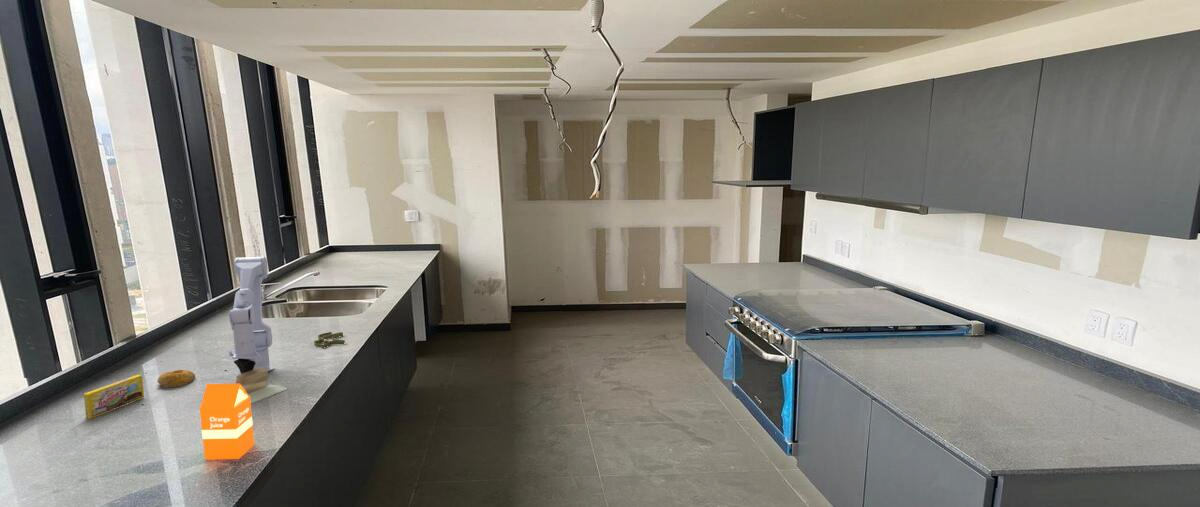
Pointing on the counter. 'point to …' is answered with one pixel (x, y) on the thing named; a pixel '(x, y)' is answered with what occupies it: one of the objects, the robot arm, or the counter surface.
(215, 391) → the orange juice
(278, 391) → the sage mat
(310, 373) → the counter surface
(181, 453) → the counter surface
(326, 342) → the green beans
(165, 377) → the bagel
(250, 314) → the robot arm
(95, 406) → the candy box
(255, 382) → the maple tile
